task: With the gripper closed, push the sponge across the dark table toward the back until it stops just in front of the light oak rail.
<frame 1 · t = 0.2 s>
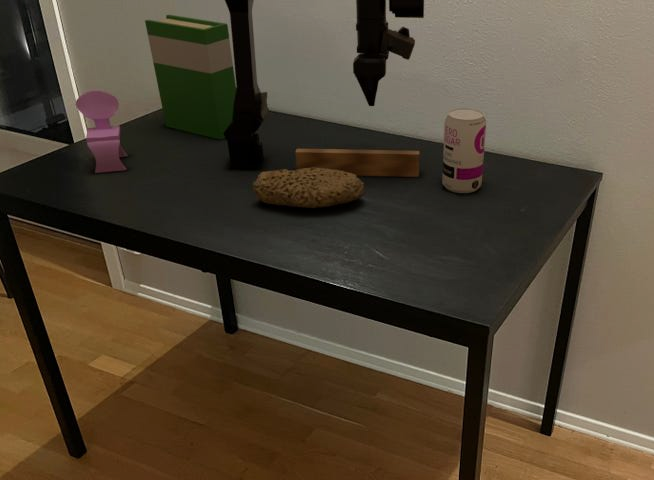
hand: (373, 98, 147), 15 cm above the table, tool pointing down, fingers open, 9 cm apart
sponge: (312, 203, 140), on the table
toy chair: (111, 165, 155), on the table
back rail: (358, 174, 152), on the table
hardback book: (203, 129, 174), on the table
supplement can: (461, 187, 148), on the table
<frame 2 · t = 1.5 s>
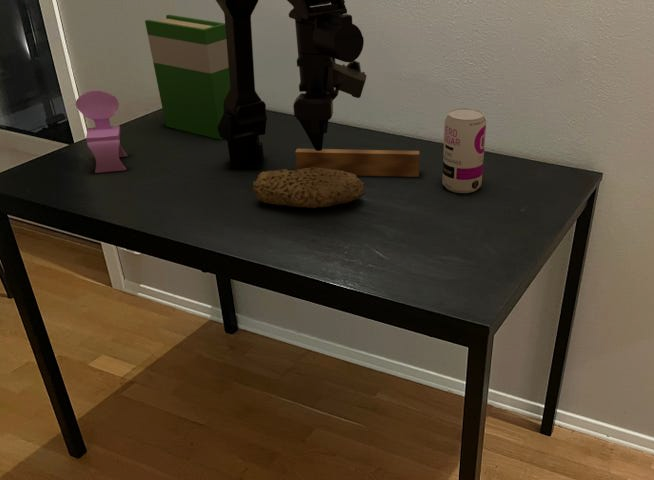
hand: (321, 141, 129), 14 cm above the table, tool pointing down, fingers open, 9 cm apart
nothing on the table moved.
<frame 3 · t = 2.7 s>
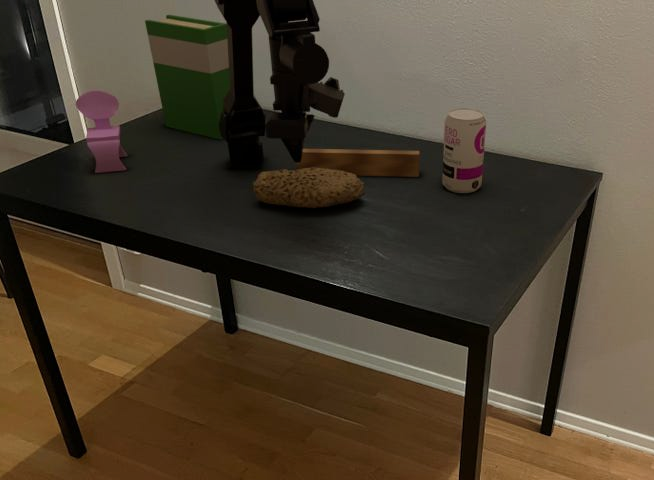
hand: (298, 161, 123), 13 cm above the table, tool pointing down, fingers closed
nothing on the table moved.
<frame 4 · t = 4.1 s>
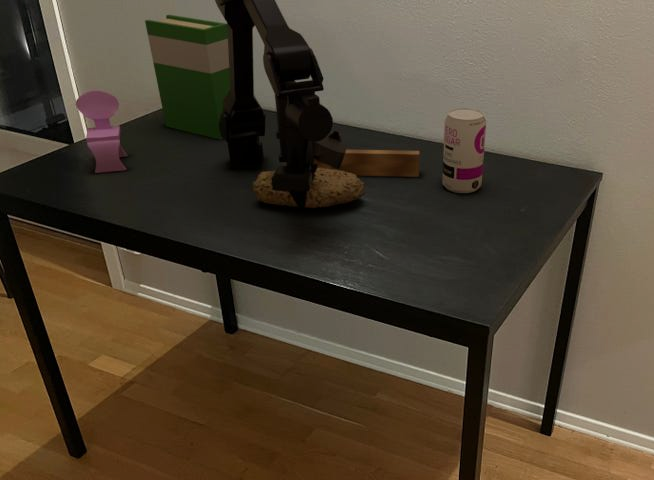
hand: (302, 207, 129), 4 cm above the table, tool pointing down, fingers closed
nothing on the table moved.
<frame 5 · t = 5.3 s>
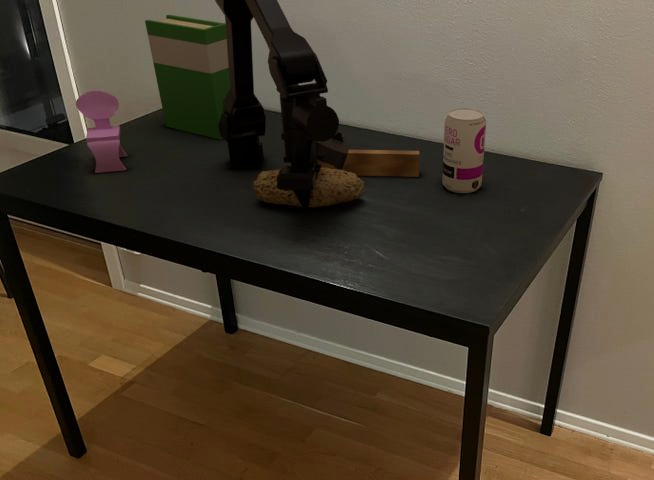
hand: (306, 206, 133), 2 cm above the table, tool pointing down, fingers closed
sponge: (312, 203, 141), on the table, touching gripper
everything else where it was.
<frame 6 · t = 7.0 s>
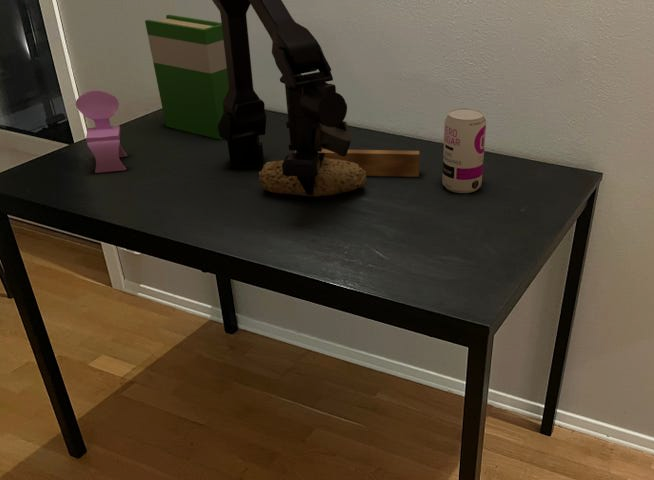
hand: (310, 194, 137), 3 cm above the table, tool pointing down, fingers closed
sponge: (316, 192, 145), on the table, touching gripper
everything else where it was.
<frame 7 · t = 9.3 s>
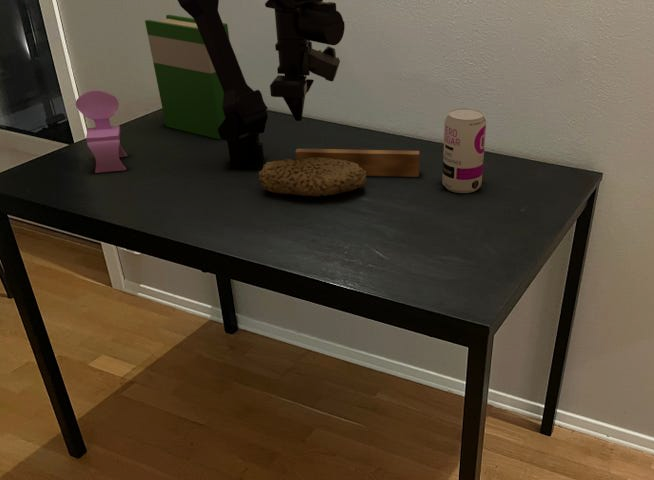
hand: (298, 120, 141), 13 cm above the table, tool pointing down, fingers closed
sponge: (316, 192, 145), on the table
everything else where it was.
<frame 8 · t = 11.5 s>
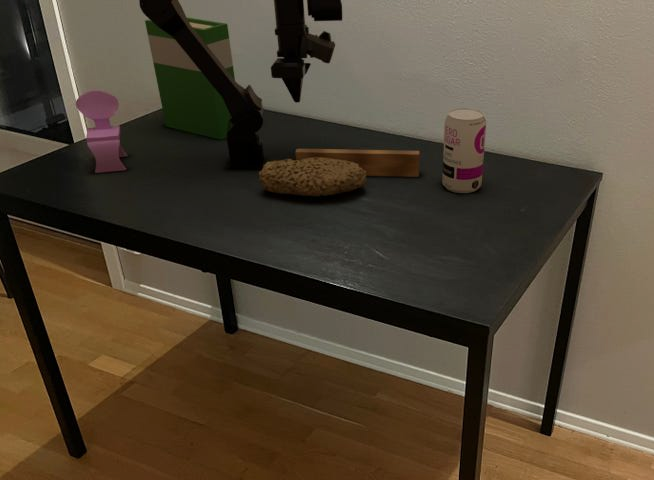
hand: (297, 101, 150), 13 cm above the table, tool pointing down, fingers closed
nothing on the table moved.
at the end: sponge inside the target area (0.8 cm from its centre), on the table; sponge tilted 1° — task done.
